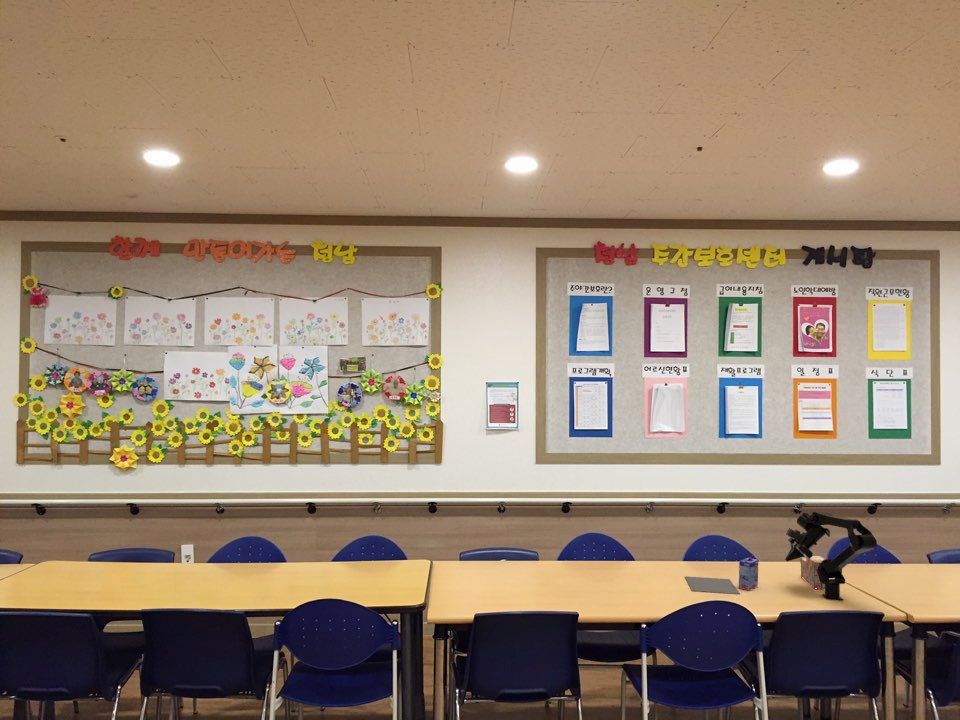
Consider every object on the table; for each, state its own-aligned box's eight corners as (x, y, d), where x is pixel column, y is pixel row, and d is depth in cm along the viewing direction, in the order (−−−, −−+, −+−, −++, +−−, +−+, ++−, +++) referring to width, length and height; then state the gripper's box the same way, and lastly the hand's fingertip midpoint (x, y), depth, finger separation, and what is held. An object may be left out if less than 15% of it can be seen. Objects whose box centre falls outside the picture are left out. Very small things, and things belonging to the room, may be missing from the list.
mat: (740, 594, 286) (740, 593, 286) (691, 591, 290) (691, 590, 290) (729, 579, 310) (729, 579, 310) (684, 576, 313) (684, 576, 313)
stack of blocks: (800, 577, 317) (800, 550, 318) (814, 578, 316) (814, 551, 317) (814, 589, 296) (814, 561, 297) (829, 590, 295) (829, 562, 296)
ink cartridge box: (751, 591, 291) (750, 557, 292) (738, 588, 295) (738, 555, 296) (759, 586, 299) (758, 554, 300) (746, 584, 302) (746, 552, 303)
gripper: (792, 519, 304) (767, 542, 306) (804, 526, 286) (777, 550, 287) (811, 537, 302) (785, 561, 304) (824, 545, 284) (797, 570, 285)
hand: (785, 560), depth 295 cm, fingers closed
